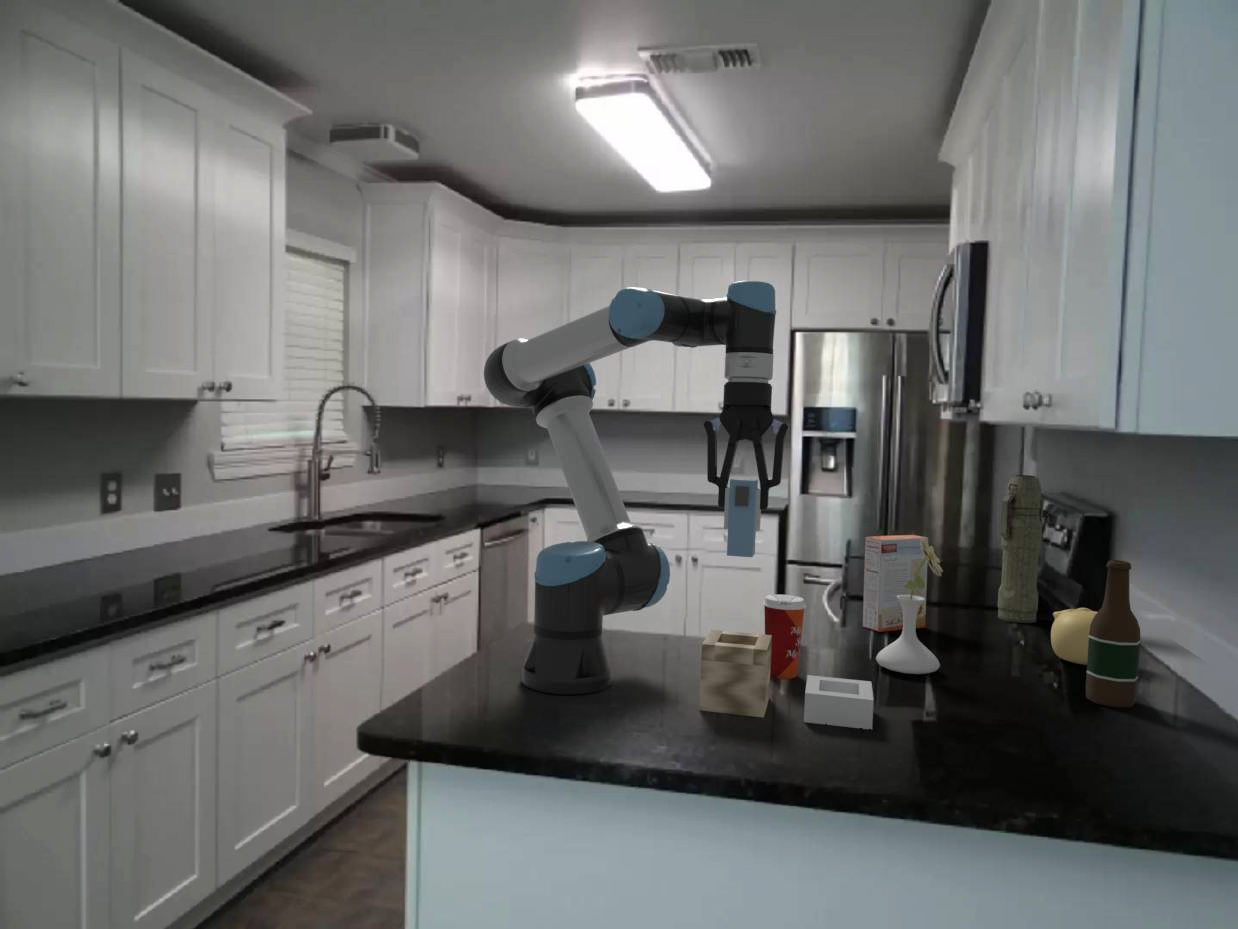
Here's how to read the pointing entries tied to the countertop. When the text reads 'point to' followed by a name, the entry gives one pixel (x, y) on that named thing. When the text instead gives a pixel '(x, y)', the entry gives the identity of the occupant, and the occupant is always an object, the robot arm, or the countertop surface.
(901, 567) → the cracker box
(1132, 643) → the beer bottle
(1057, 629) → the sculpture
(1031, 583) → the thermos
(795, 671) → the paper cup
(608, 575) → the robot arm
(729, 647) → the block
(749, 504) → the plug
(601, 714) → the countertop surface
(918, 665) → the flower in vase
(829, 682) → the block
